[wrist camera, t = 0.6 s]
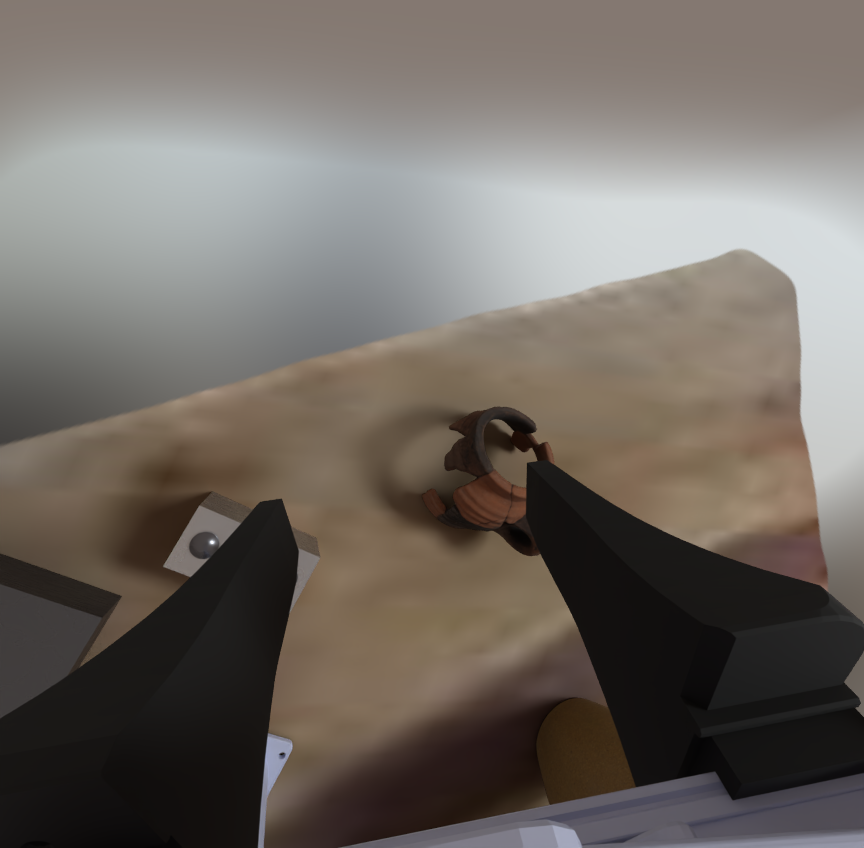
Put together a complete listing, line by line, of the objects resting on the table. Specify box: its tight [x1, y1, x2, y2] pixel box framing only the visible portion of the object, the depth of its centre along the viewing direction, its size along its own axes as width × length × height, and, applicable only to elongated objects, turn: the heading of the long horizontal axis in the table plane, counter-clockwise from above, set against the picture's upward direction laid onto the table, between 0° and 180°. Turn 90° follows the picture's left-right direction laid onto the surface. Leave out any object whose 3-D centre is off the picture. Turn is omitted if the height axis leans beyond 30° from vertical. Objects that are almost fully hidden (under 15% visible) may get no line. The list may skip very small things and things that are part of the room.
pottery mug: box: [422, 407, 554, 556], centre depth 33 cm, size 12×10×8 cm
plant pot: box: [536, 698, 636, 805], centre depth 32 cm, size 15×15×16 cm
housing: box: [163, 491, 320, 614], centre depth 28 cm, size 8×4×5 cm, turn 60°
